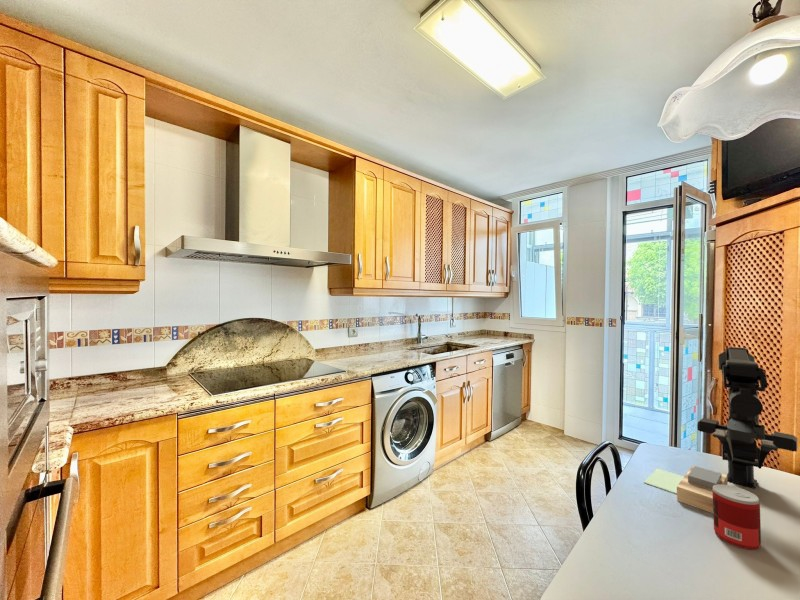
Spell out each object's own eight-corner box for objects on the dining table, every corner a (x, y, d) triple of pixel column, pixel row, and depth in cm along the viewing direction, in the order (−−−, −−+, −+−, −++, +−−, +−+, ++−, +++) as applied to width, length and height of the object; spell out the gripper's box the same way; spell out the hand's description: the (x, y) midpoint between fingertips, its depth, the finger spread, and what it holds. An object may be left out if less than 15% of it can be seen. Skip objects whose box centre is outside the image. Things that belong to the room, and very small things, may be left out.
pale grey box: (695, 472, 102) (694, 466, 102) (721, 480, 98) (721, 473, 98) (688, 482, 97) (687, 475, 97) (716, 490, 92) (715, 483, 92)
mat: (657, 469, 113) (657, 468, 113) (691, 479, 106) (691, 478, 106) (644, 482, 104) (643, 482, 104) (680, 495, 97) (680, 494, 97)
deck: (693, 477, 107) (692, 465, 107) (727, 488, 101) (727, 475, 101) (677, 500, 94) (676, 486, 95) (715, 513, 88) (714, 498, 88)
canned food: (771, 553, 74) (769, 503, 74) (729, 548, 76) (727, 499, 76) (743, 530, 82) (741, 485, 82) (705, 526, 83) (704, 482, 84)
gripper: (692, 405, 94) (694, 461, 93) (794, 423, 79) (797, 489, 79) (700, 398, 100) (702, 450, 100) (796, 413, 86) (798, 474, 85)
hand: (745, 464), depth 91 cm, fingers open, 5 cm apart
